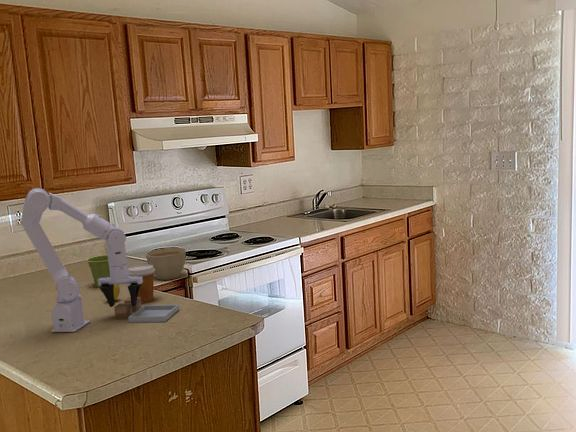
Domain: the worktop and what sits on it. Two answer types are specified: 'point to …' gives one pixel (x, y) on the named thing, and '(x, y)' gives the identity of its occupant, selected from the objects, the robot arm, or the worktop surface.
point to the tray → (154, 313)
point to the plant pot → (99, 267)
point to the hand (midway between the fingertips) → (123, 305)
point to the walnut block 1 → (123, 310)
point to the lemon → (116, 291)
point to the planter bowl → (167, 262)
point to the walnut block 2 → (136, 307)
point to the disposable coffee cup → (144, 281)
